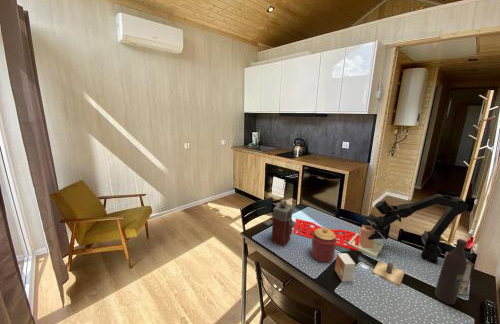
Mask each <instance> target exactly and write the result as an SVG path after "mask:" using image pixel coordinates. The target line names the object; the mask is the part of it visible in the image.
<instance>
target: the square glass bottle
mask: <svg viewBox="0 0 500 324" xmlns="http://www.w3.org/2000/svg"><path fill="white" fill-rule="evenodd" d="M272 210H273V213H272V227H271V242H272V243H274V244H276V243H277V244H276V245H278V244H279V246H281V247H283V246H284V247H286V245H287V244H288V243H289V241H291V235H292V234H293V218H292V217H293V206H290V205H287V200H285V199H281V201H280V203H278V204H277V205H276V206H274V208H273V209H272Z"/></svg>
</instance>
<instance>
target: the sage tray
mask: <svg viewBox="0 0 500 324" xmlns="http://www.w3.org/2000/svg"><path fill="white" fill-rule="evenodd" d="M356 233H357V234H356V235H355V236H354V237H353V238H352V239H351V240H350V241H347V242H348V244H347V245H348V246H351V247H353V248H356V249H358V250H357V251H358V252H360V253H362V254H366V255H367V256H369V257H371V258H374V259H377V258H378V256H379V255H380V252H381V251H382V250H383V247H384V243H383V242H381V241H378V240H377V239H374V242H373V248H363V247H362V246H361V244H360V243H359V246H356V245H355V241H354V240H355V239H356V237H357V236H359V237H360V234H361V233H358V232H356ZM359 240H360V239H359ZM351 243H352V244H351Z"/></svg>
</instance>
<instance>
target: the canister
mask: <svg viewBox="0 0 500 324" xmlns="http://www.w3.org/2000/svg"><path fill="white" fill-rule="evenodd" d="M329 229H330V228H327V227H324V228H319V229H316V230H315V232H312V233H313V235H312V236H313V239H311V248H310V253H311V256H312V257H313V259H314V260H316V261H319V262H321V263H330V262H332V261H333V260H334V259H335V250H336V246H337V245H336V244H335V243H336V242H337V240H336V239H337V238H336V237H335V234H334V233H333V232H332V231H331V230H329Z"/></svg>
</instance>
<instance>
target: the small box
mask: <svg viewBox="0 0 500 324" xmlns="http://www.w3.org/2000/svg"><path fill="white" fill-rule="evenodd" d="M356 266H357V265H356V263H355V261H354V260H353V259H352V257H351V256H350V254H348V253H347V252H346V253H342V252H341V253H337V254H336V260H335V266H334V272H335V273H336V274H337V276H338V278H339V279H340V281H341V282H342V283H345V282H346V283H347V282H353V280H354V274H355V270H356Z"/></svg>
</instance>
